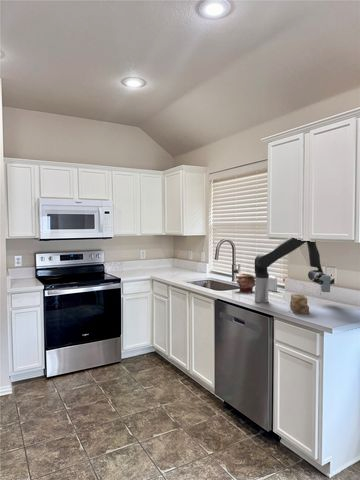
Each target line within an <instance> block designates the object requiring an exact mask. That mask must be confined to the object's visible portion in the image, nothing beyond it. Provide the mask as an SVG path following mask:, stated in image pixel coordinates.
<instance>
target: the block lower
mask: <svg viewBox="0 0 360 480" xmlns="http://www.w3.org/2000/svg"><path fill="white" fill-rule="evenodd" d="M289 309H290V310H291V312H292V313H293V314H294V315H310V306H309V305H308V304H307V307H305V306H293V304H292V303H291V300H290V303H289Z"/></svg>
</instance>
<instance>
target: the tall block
mask: <svg viewBox="0 0 360 480" xmlns="http://www.w3.org/2000/svg"><path fill="white" fill-rule="evenodd" d="M321 280H323V284H321V285H320V291H321V293H331V285H330V281H331V280H332V276H331V275H327V274H325V275H322V276H321Z"/></svg>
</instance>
